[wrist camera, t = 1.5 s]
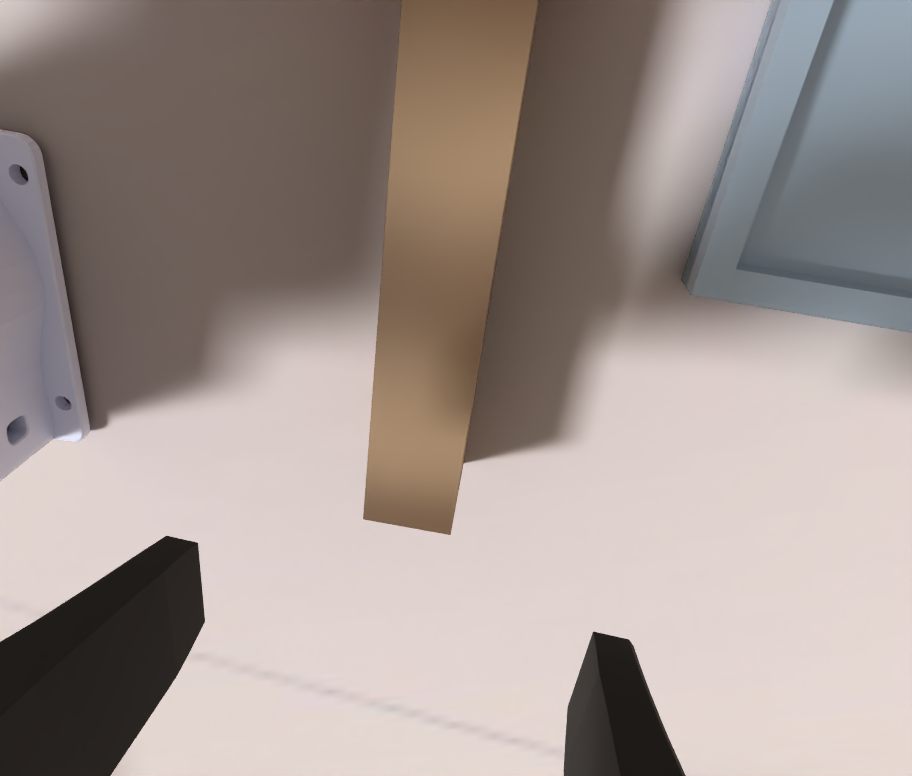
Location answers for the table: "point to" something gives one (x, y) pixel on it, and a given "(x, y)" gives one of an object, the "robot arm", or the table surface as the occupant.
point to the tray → (817, 170)
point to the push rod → (441, 244)
